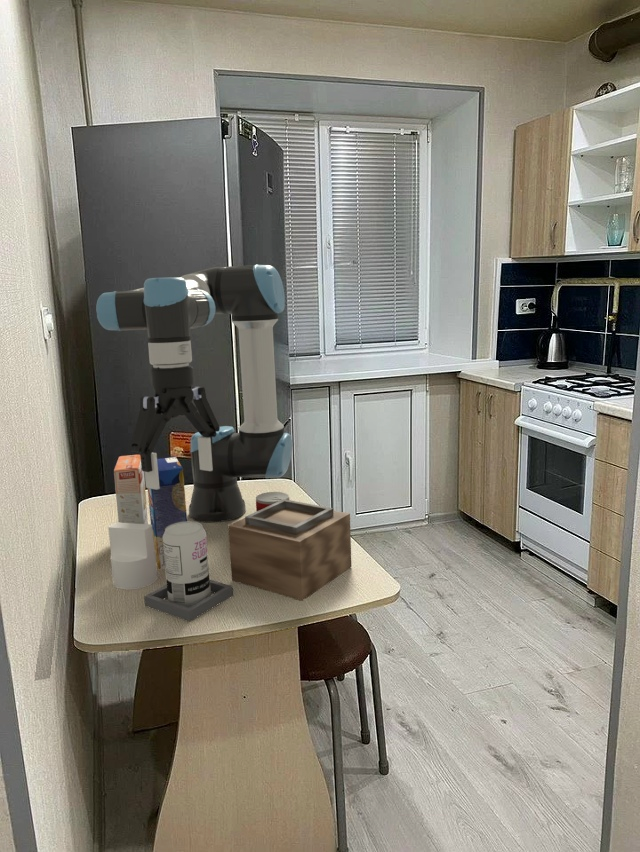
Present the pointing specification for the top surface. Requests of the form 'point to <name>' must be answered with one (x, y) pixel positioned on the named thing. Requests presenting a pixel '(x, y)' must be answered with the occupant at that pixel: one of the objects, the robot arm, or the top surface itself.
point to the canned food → (269, 499)
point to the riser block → (290, 548)
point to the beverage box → (166, 503)
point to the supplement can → (186, 563)
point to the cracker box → (130, 490)
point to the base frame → (220, 595)
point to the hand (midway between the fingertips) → (180, 478)
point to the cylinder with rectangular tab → (132, 555)
